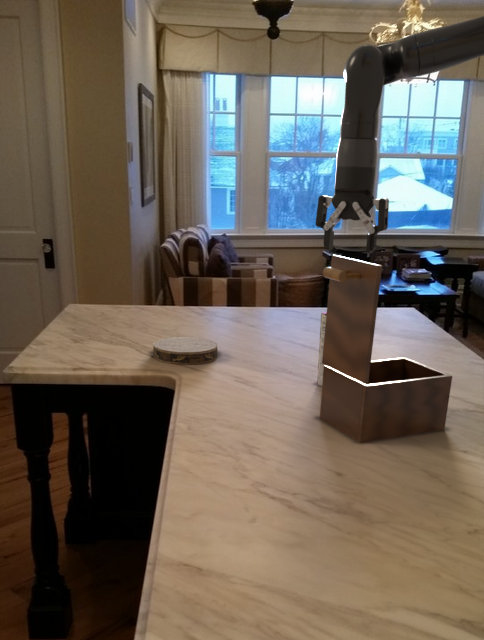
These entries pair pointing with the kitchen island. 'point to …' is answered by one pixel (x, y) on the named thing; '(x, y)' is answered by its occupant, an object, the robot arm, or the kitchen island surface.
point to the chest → (386, 400)
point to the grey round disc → (185, 350)
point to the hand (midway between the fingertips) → (348, 251)
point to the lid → (351, 316)
